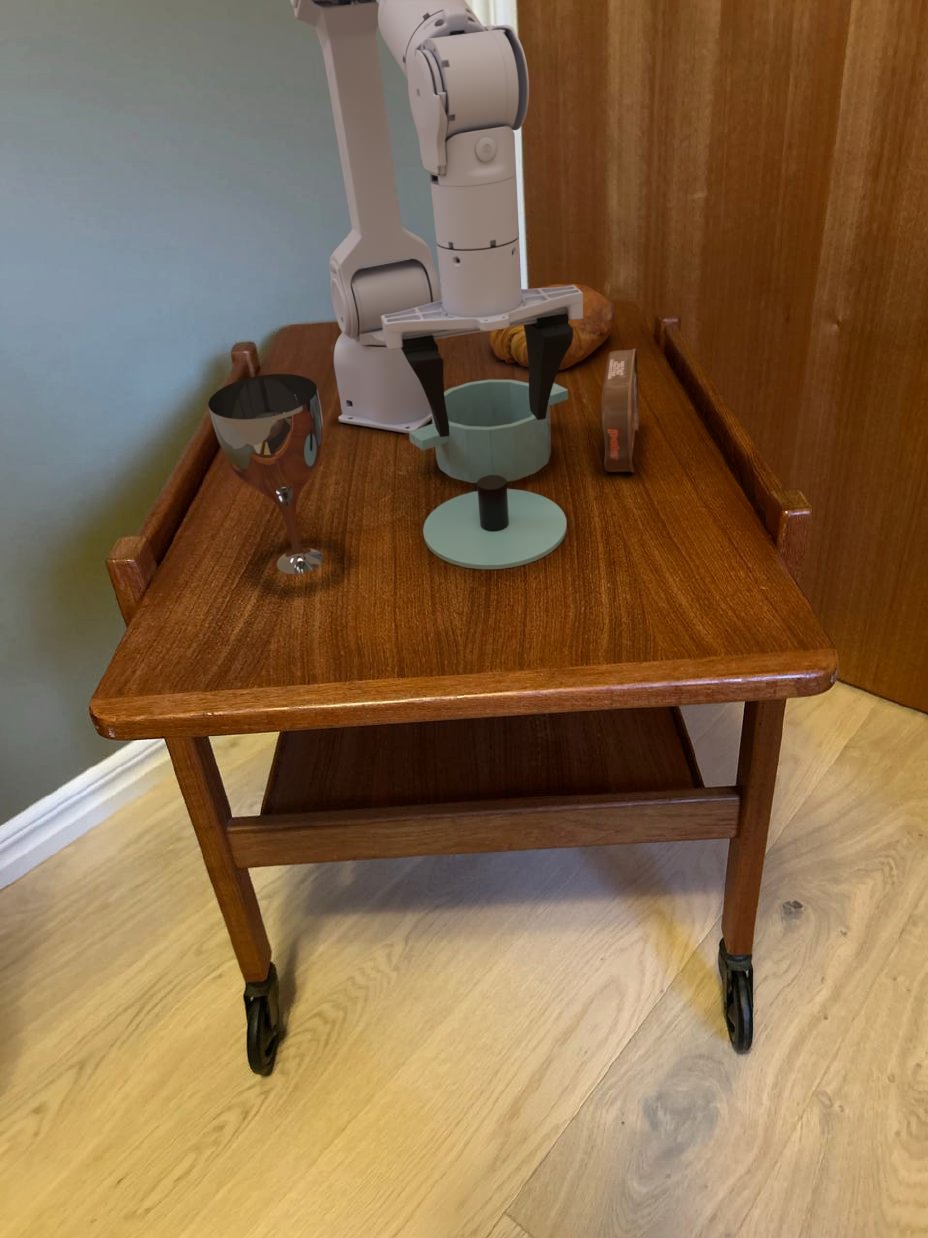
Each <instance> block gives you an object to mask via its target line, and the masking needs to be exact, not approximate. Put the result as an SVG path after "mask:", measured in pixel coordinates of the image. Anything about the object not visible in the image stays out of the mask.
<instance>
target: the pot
mask: <svg viewBox="0 0 928 1238" xmlns="http://www.w3.org/2000/svg"><path fill="white" fill-rule="evenodd" d="M444 397H445V404H446V410H447V416H448V422H449V435H450V436H446V437H440V435H439V433H438V431H437V429H436V427H435V422H434V417H433V414H432V410H431V414H432V419H431V424H427V425H424V426H423V427H422V428H419V429H416V430H413V431H410V432H409V433H408V435H409V436H408V438H409V442H410V443H411V444H412V445H414V446H416V448H418V449H420V450H421V451H423V452H424V451H427V450H429V449H433V448H434V451H435V460H436V463H437V465H438V468H439V470H440V471H442V472H443V473H445V474H446V475H447V476H449V477H450V478H451V479H456V480H460V481H462V482H466V483H471V484H477V482H478V480H479V479H480V478H482V477H484V476H488V475H499V476H502V477H504V478H505V479H506V481H507V482H514V481H518V480H521V479H524V478H525V477H528V476H531V475H533V474H536V473H537V472H539V471H540V470H541V469H542V468H544V467H545V466H546V465H547V464H548V463H549V461H550V457H551V454H552V434H551V433H552V432H551V429H552V428H551V427H552V426H551V406H553V405H556V404H559V403H562V402H565V401H567V400H569V389H568V388H565V387H563V386H561V385H560V384H558V383H555V382H554V383H553V387H552V390H551V394H550V398H549V402H548V407H547V414H546V419H542V420H537V419H536V417H535V416H534V415H533V413H532V412H531V411H530V403H529V382H525V381H521V380H520V381H519V380H515V379H493V378H492V379H483V380H477V381H470V382H466V383H463V384H459V385H457V386H454V387H450V388H448V389H446V390H444Z"/></svg>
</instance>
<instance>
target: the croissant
mask: <svg viewBox="0 0 928 1238" xmlns="http://www.w3.org/2000/svg"><path fill="white" fill-rule="evenodd" d="M572 285H574V286H575V287H577V288H578V289H579V290H580V291H581V292H583V318H582V319H578V320H568V324H569V325H570V326H571V327H572V328H573V340H572V344H571V346H570V347H569V349H568V351H567V352H566V354H565V356H564V358H563V360H562V362H561V365H560V367H559V369H558V372H559V371H563V370H566V369H568V368H570V367H572V366H573V365H575V364H577V363H580V362H582V361H583V360H585V359H586V358H587V357H588V356H590V355H591V354H593V352H594V351H595V350H597V349H598V348H599V347H600V346H601V345H602V344H604V342H605V341H606V340H607V339H608V337H609V336H610V334H611V332H612V330H613V329H614V327H615V324H616V320H617V311H616V309H615V306H614V304H613V303H612V302H611V300H608V299H607V298H606V296H604V295H603V294H602V293H599V292H597V291H595V290H594V289H593V288H592V287H590V286H588V285H585V284H578V283H565V284H564V283H563V284H560V283H555V284H551V285H544V286H541V287H540V286H539V288H555V287H565V286H572ZM489 336H490V337H489V344H490V346H491V348H492V350H493V352H494V355H495V356H496V357H497V358H498V359H499V360H504V362H505V363H506V364H514V363H516V362H517V363H518V364H519V365H520V366H521V367H525V368H529V363H528V353H527V344H526V337H525V330H524V325H520V326H514V327H508V328H505V329H499V330H493V331H490V335H489Z"/></svg>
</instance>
